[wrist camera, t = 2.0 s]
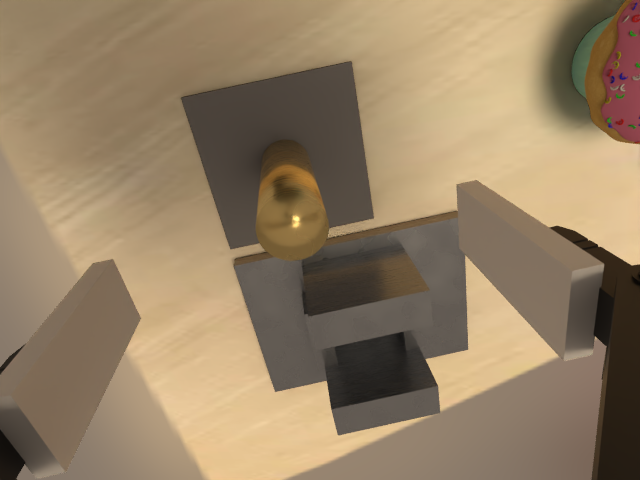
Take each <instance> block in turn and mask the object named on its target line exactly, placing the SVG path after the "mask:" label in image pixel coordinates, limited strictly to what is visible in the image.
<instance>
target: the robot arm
mask: <svg viewBox="0 0 640 480" xmlns="http://www.w3.org/2000/svg"><path fill="white" fill-rule="evenodd" d="M457 206H458V228H459V248H460V250H461V251H462V252H463V253H464V254H465V255H466V256H467V257H468V258H469V259H470V260H471V261H472V263H473V264H474V265H475V266H476V267H477V268H478V269H479V270H480V271H481V272H482V273H483V274H484V276H485V277H486V278H487V279H488V280H489V281H490V282H491V283H492V284H493V285H494V286H495V287H496V288H497V290H498V291H499V292H500V293H501V294H502V295H503V296H504V297H505V298H506V299H507V300H508V301H509V303H510V304H511V305H512V306H513V307H514V308H515V309H516V310H517V311H518V312H519V313H520V314H521V316H522V317H523V318H524V319H525V320H526V321H527V322H528V323H529V324H530V325H531V326H532V327H533V328H534V330H535V331H536V332H537V333H538V334H539V335H540V336H541V337H542V338H543V339H544V340H545V341H546V343H547V344H548V345H549V346H550V347H551V348H552V349H553V350H554V351H555V352H556V353H557V354H558V355H559V357H560V358H561V359H562V360H563V361H566V360H571V359H575V358H580V357H585V356H589V355H592V354H593V346H594V339H595V336H596V337H597V338H598V339H599V340H600V341H601V342H602V343H603V344H604V345H606V346H607V348H606V354H605V361H604V367H603V374H602V380H603V381H602V389H601V399H600V408H599V417H598V425H597V435H596V445H595V453H594V462H593V471H592V480H640V265H633V266H631V265H630V264H628V263H627V262H625V261H623V260H622V259H620V258H618V257H617V256H615V255H613V254H612V253H610V252H609V251H607V250H605V249H604V248H602V247H598V245H597V244H595V243H594V242H592V241H590V240H589V241H588V239H587V238H586V237H584V236H582V235H581V234H579V233H577V232H576V231H573V230H570V229H567V228H563V227H560V226H554V227H550V228H549V227H547V226H546V225H544V224H543V223H541V222H540V221H538V220H537V219H535V218H533V217H532V216H530V215H529V214H527V213H526V212H524V211H523V210H521V209H520V208H518V207H517V206H515V205H514V204H512V203H511V202H509V201H508V200H506V199H504V198H503V197H501V196H500V195H498V194H497V193H495V192H494V191H492V190H491V189H489V188H488V187H486V186H485V185H483V184H482V183H480V182H479V181H477V180H474V181H470V182H465V183H461V184H457ZM140 319H141V318H140V315H139V313H138V311H137V309H136V307H135V305H134V303H133V301H132V298H131V296H130V294H129V292H128V290H127V288H126V286H125V284H124V281H123V279H122V277H121V275H120V273H119V271H118V269H117V267H116V264H115V262H114V260H113V259H111V260H107V261H102V262H97V263H93V264H92V265H91V266H90V267H89V269H88V270H87V271H86V272H85V273H84V275H83V276H82V277H81V278H80V279H79V281H78V282H77V283H76V284H75V285H74V287H73V288H72V289H71V290H70V291H69V293H68V294H67V295H66V296H65V297H64V299H63V300H62V301H61V302H60V303H59V305H58V306H57V307H56V308H55V309H54V311H53V312H52V313H51V314H50V316H49V317H48V318H47V319H46V320H45V322H44V323H43V324H42V325H41V326H40V328H39V329H38V330H37V331H36V332H35V334H34V335H33V336H32V337H31V338H30V340H29V341H28V342H27V343H26V344H25V345H23V346H22V347H21V348H20V349H18V350H17V351H16V352H15V353H13V354H12V355H11V356H10V357H9V358H8V359H7V360H6V361H5V362H4V364H3V365H2V366H1V367H0V480H17V479H16V478H17V476H18V474H19V473H20V471H21V469H22V467H23V466H24V464H25V465H26V466H27V467H28V469H29V470H30V471H31V473H32V474H33V475H34V476H35V478H36V479H38V478H43V477H48V476H52V475H56V474H61V473H65V472H66V471H67V469H68V467H69V465H70V463H71V461H72V459H73V457H74V455H75V453H76V451H77V448H78V447H79V445H80V442H81V440H82V438H83V436H84V434H85V432H86V430H87V428H88V426H89V424H90V422H91V420H92V418H93V416H94V414H95V412H96V410H97V407H98V405H99V403H100V401H101V399H102V397H103V395H104V393H105V391H106V389H107V387H108V385H109V383H110V381H111V379H112V377H113V374H114V373H115V370H116V368H117V366H118V364H119V362H120V360H121V358H122V356H123V354H124V352H125V350H126V348H127V346H128V344H129V342H130V340H131V338H132V336H133V333H134V331H135V329H136V327H137V325H138V323H139V321H140Z"/></svg>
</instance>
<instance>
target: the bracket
mask: <svg viewBox="0 0 640 480" xmlns="http://www.w3.org/2000/svg"><path fill="white" fill-rule="evenodd" d="M234 268H235V271H236V274H237V277H238V280H239V283H240V286H241V289H242V292H243V296H244V299H245V302H246V305H247V308H248V311H249V314H250V317H251V320H252V323H253V326H254V329H255V332H256V335H257V338H258V341H259V344H260V347H261V350H262V353H263V356H264V359H265V362H266V365H267V368H268V371H269V374H270V378H271V381H272V384H273V387H274V390H275V392H277V391H282V390H286V389H291V388H295V387H300V386H304V385H309V384H313V383H318V382H323V381H327V384H328V390H329V397H330V403H331V409H332V413H333V417H334V421H335V425H336V429H337V433H338V435H342V434H347V433H351V432H356V431H360V430H365V429H369V428H374V427H378V426H383V425H388V424H392V423H397V422H401V421H406V420H410V419H415V418H419V417H424V416H428V415H433V414H437V413H440V405H439V392H438V385H437V383H436V381H435V379H434V377H433V375H432V372H431V370H430V368H429V366H428V364H427V362H426V360H425V359H427V358H432V357H437V356H441V355H446V354H450V353H455V352H459V351H464V350H468V332H467V302H466V273H465V254H464V253H463V252H462V251H461V250H460V248H459V228H458V211H455V212H450V213H446V214H441V215H436V216H432V217H427V218H422V219H418V220H413V221H409V222H404V223H399V224H395V225H390V226H385V227H381V228H376V229H372V230H367V231H362V232H358V233H353V234H349V235H344V236H339V237H335V238H330V239H326V241H325V243H324V244H323V246H322V247H321V248H320V249H319V250H318V251H317V252H316V253H315V254H313V255H312V256H310V257H308V258H305V259H302V260H296V261H287V260H282V259H278V258H276V257H274V256H272V255H270V254H269V253H268V252H265V253H261V254H256V255H251V256H247V257H242V258H238V259H235V262H234Z"/></svg>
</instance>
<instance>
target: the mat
mask: <svg viewBox="0 0 640 480" xmlns="http://www.w3.org/2000/svg"><path fill="white" fill-rule="evenodd" d="M181 99H182V102H183V105H184V109H185V112H186V115H187V118H188V121H189V124H190V127H191V130H192V133H193V136H194V139H195V142H196V145H197V148H198V151H199V154H200V158H201V161H202V164H203V167H204V170H205V173H206V176H207V179H208V182H209V185H210V188H211V191H212V194H213V197H214V200H215V203H216V207H217V210H218V213H219V216H220V219H221V222H222V225H223V228H224V231H225V234H226V237H227V240H228V243H229V246H230V249H234V248H239V247H243V246H248V245H253V244H257V243H259V241H258V238H257V235H256V218H257V208H258V197H259V187H260V176H261V165H262V157H263V154H264V152H265V150H266V149H267V148H268V147H269V146H270V145H271V144H272V143H274V142H276V141H279V140H284V139H287V140H293V141H295V142H297V143H299V144H300V145H302V146H303V147H304V148H305V150H306V151H307V153H308V155H309V159H310V162H311V165H312V169H313V172H314V175H315V178H316V182H317V185H318V188H319V191H320V195H321V198H322V201H323V205H324V208H325V211H326V214H327V218H328V222H329V228H331V227H336V226H341V225H345V224H350V223H354V222H359V221H364V220H368V219H373V218H374V216H373V209H372V201H371V194H370V187H369V180H368V173H367V166H366V159H365V152H364V145H363V138H362V131H361V124H360V117H359V110H358V103H357V96H356V89H355V82H354V75H353V67H352V62H351V61H350V62H346V63H341V64H336V65H331V66H327V67H322V68H317V69H313V70H308V71H303V72H299V73H294V74H289V75H285V76H280V77H275V78H270V79H266V80H261V81H256V82H252V83H247V84H242V85H238V86H233V87H228V88H223V89H219V90H214V91H209V92H205V93H200V94H195V95H191V96H186V97H182V98H181Z"/></svg>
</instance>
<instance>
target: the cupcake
mask: <svg viewBox="0 0 640 480" xmlns="http://www.w3.org/2000/svg"><path fill="white" fill-rule="evenodd" d="M572 80H573V83H574V86H575V88H576V89H577V91H578V92H579V93H580V94H581V95H582V96H584V97H585V98H586V99H587V102H588V105H589V108H590V114H591V119H592V121H593V122H594V124H595V125H596V126H598V127H599V128H600V129H601V130H603V131H604V132H605V133H607V134H608V135H609V136H610V137H612V138H613V139H615V140H617V141H620V142H625V143H633V144H640V0H626V1H625V2H624V3H623V4H622V6H621V7H620V9H619V10H618V12H617V14H616V15H614V16H612V17H610V18H607V19H605V20H603V21H602V22H600V23H598V24H597V25H596V26H594V27H593V28H592V29H591V30H590V31H589V32H588V33H587V34H586V35H585V37H584V38H583V39H582V41H581V42H580V44H579V46H578V48H577V50H576V52H575V55H574V58H573V62H572Z"/></svg>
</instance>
